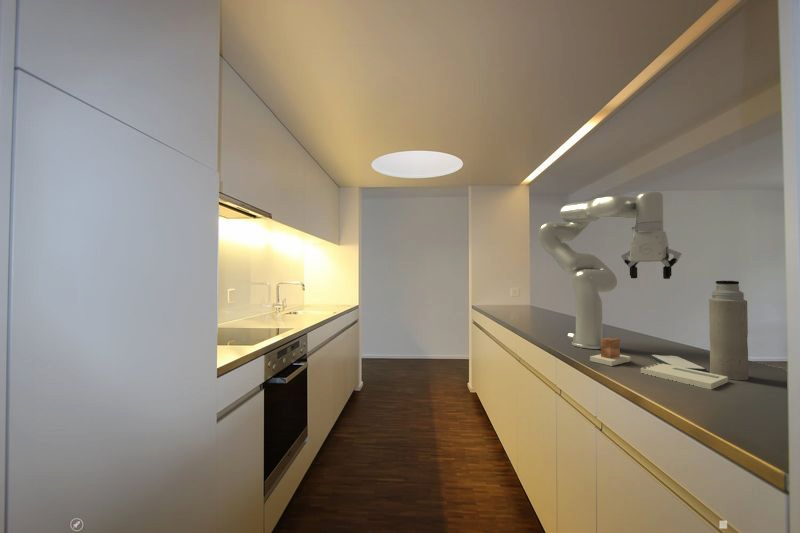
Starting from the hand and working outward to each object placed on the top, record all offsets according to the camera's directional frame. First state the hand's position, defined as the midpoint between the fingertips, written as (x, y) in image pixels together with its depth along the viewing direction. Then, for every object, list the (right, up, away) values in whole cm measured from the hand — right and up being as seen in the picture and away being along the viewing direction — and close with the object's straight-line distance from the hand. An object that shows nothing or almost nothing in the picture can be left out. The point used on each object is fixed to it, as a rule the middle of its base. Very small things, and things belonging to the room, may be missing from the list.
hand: (649, 278), depth 113 cm
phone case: (+6, -29, -4) cm, 30 cm away
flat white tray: (-4, -28, -18) cm, 33 cm away
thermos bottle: (+11, -28, -16) cm, 34 cm away
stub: (-14, -28, -1) cm, 31 cm away
